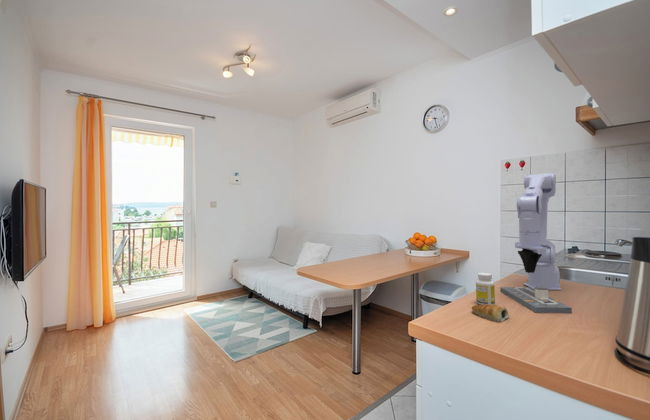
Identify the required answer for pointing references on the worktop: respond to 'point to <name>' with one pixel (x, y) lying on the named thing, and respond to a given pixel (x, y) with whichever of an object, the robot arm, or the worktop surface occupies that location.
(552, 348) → the worktop surface
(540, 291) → the fader tab
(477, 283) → the supplement bottle
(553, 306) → the console
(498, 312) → the pastry
